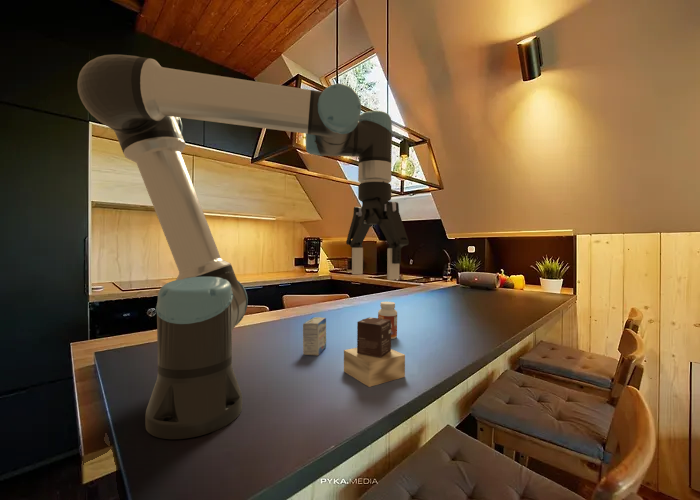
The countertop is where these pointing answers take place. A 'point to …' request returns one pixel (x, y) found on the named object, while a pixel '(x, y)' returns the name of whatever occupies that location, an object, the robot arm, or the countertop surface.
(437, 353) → the countertop surface
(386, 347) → the box
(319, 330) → the medicine box
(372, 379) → the beech block
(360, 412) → the countertop surface
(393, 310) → the pill bottle
